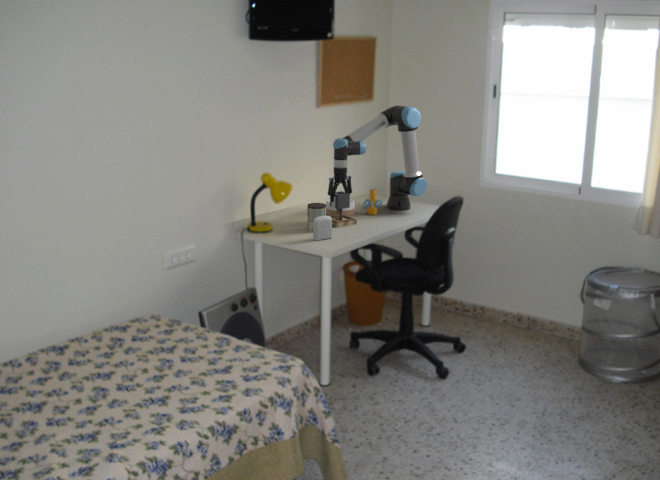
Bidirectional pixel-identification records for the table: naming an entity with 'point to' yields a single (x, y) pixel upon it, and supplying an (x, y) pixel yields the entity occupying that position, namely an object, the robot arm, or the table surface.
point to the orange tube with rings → (372, 203)
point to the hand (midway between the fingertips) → (339, 206)
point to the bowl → (345, 211)
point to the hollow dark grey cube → (341, 200)
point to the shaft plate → (342, 219)
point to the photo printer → (322, 227)
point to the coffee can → (315, 213)
